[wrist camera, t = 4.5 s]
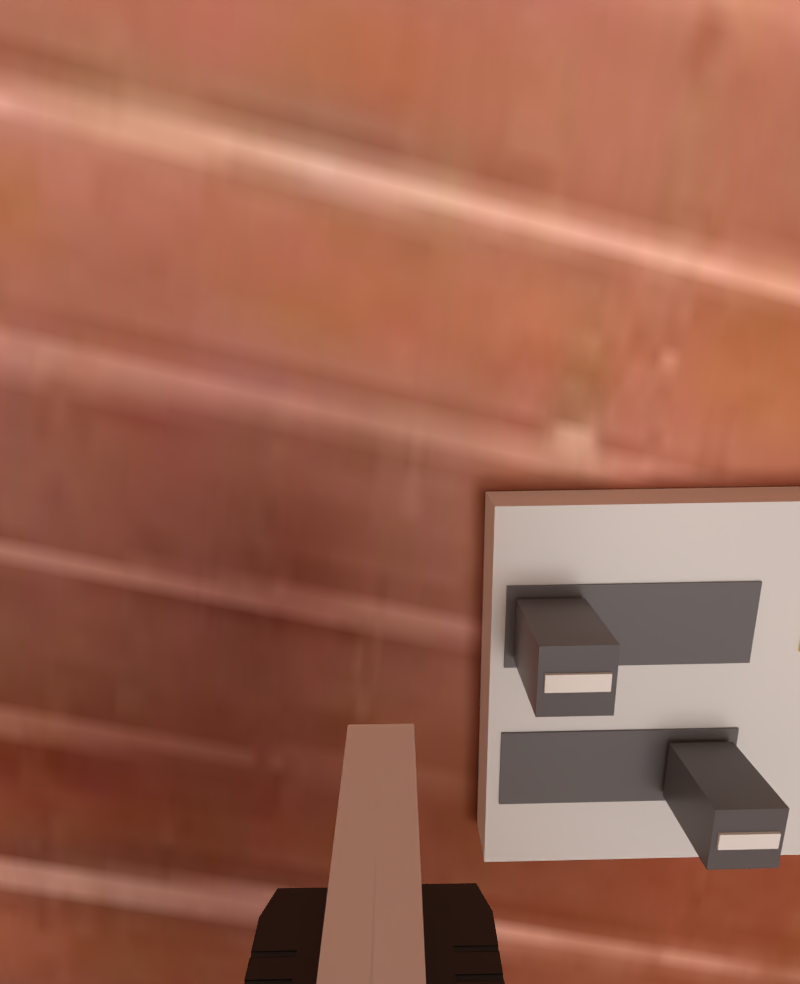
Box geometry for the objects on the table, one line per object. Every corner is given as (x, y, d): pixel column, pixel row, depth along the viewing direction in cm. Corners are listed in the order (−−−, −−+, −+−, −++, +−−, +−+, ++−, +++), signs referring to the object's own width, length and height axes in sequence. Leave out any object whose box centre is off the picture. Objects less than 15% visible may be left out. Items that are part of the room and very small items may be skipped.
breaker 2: (662, 796, 22) (708, 872, 19) (669, 743, 22) (717, 812, 18) (724, 794, 22) (780, 870, 19) (732, 741, 22) (791, 810, 19)
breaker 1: (514, 660, 21) (536, 719, 18) (516, 599, 20) (540, 648, 17) (580, 659, 21) (614, 717, 18) (585, 598, 20) (621, 646, 17)
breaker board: (477, 821, 25) (485, 866, 23) (485, 491, 21) (495, 508, 19) (793, 814, 25) (830, 858, 23) (858, 485, 22) (908, 501, 19)
